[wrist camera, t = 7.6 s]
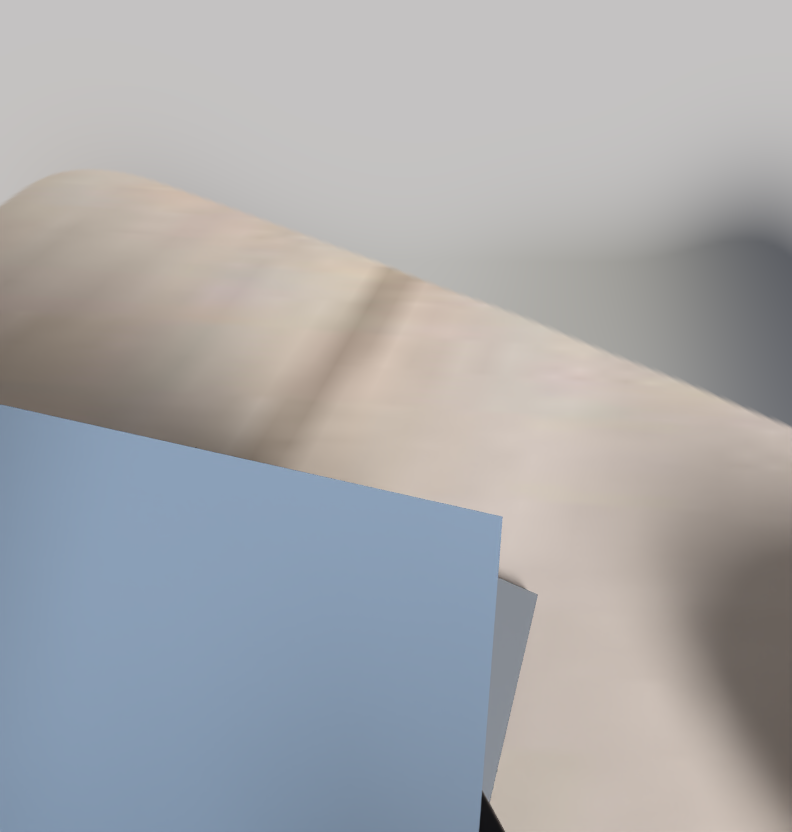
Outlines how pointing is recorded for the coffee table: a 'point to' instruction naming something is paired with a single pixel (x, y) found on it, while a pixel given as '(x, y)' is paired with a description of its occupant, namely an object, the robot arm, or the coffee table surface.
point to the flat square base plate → (505, 668)
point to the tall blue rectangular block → (233, 643)
